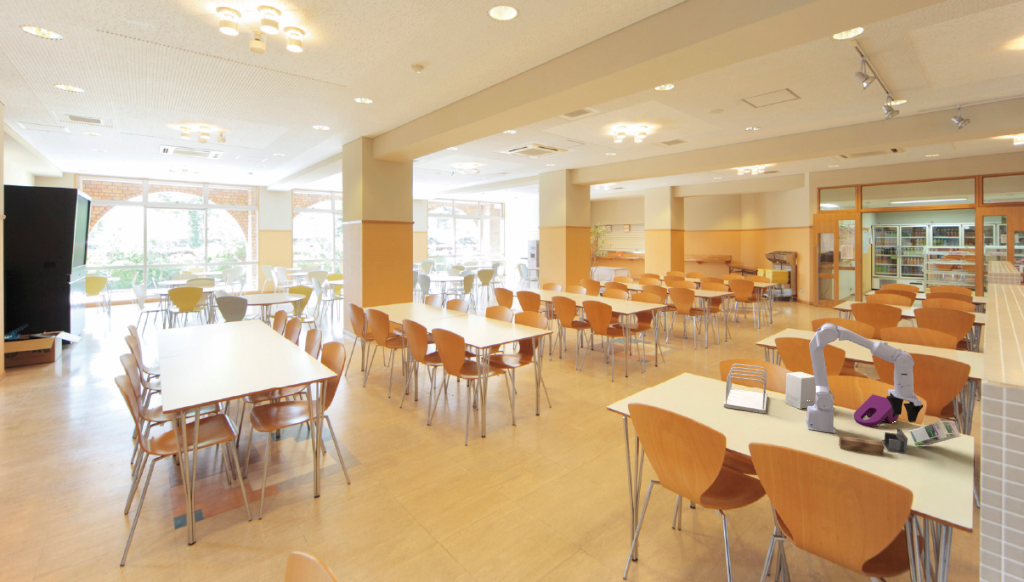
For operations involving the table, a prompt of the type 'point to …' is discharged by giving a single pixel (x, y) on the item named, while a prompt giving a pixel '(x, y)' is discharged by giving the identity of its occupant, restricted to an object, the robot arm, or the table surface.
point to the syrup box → (934, 433)
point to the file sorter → (746, 392)
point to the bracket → (895, 441)
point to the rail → (861, 445)
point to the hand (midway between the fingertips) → (904, 418)
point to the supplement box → (800, 389)
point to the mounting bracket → (875, 411)
